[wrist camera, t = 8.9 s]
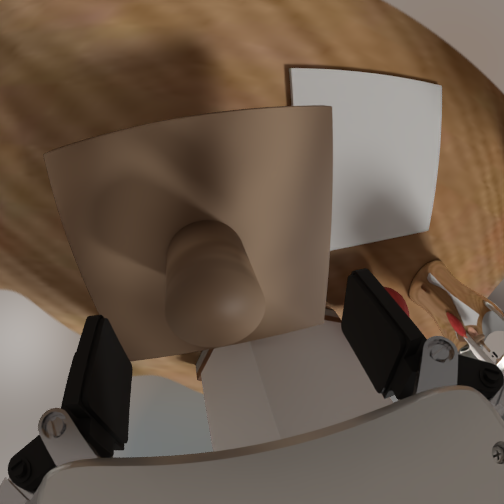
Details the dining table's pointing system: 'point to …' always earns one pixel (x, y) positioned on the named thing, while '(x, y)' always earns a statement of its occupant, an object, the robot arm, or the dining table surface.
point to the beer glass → (460, 313)
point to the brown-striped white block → (284, 386)
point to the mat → (377, 150)
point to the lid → (202, 226)
